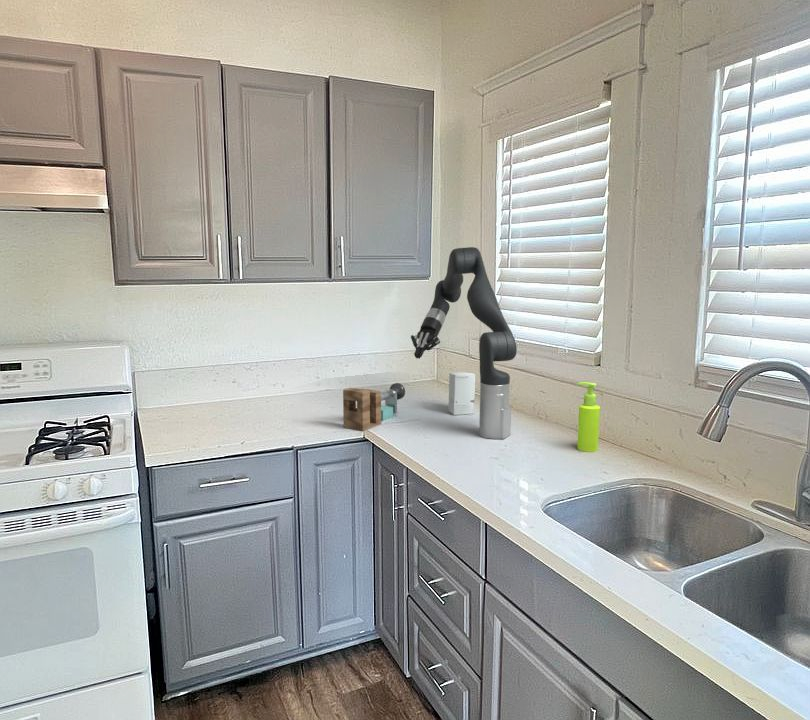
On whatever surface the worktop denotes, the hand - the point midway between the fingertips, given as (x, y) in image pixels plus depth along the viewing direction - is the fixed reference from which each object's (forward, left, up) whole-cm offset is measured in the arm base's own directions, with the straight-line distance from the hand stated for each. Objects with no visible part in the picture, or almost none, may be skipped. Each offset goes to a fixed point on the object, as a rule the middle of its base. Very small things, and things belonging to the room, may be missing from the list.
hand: (417, 357), depth 232 cm
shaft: (0, +23, -18) cm, 30 cm away
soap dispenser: (-71, +19, -19) cm, 76 cm away
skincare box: (-20, +1, -19) cm, 28 cm away
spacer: (0, +23, -19) cm, 30 cm away
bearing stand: (0, +35, -19) cm, 40 cm away
